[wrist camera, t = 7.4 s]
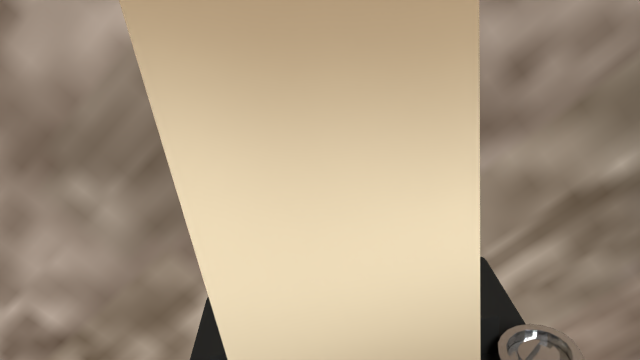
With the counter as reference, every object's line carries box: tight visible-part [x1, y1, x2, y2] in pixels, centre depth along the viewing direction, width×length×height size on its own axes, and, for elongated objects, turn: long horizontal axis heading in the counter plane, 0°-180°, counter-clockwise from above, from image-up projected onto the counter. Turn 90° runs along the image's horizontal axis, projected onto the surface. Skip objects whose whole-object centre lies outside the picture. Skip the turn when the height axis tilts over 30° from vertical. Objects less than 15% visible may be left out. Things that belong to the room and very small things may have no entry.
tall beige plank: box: [119, 0, 481, 360], centre depth 10 cm, size 15×8×5 cm, turn 8°
